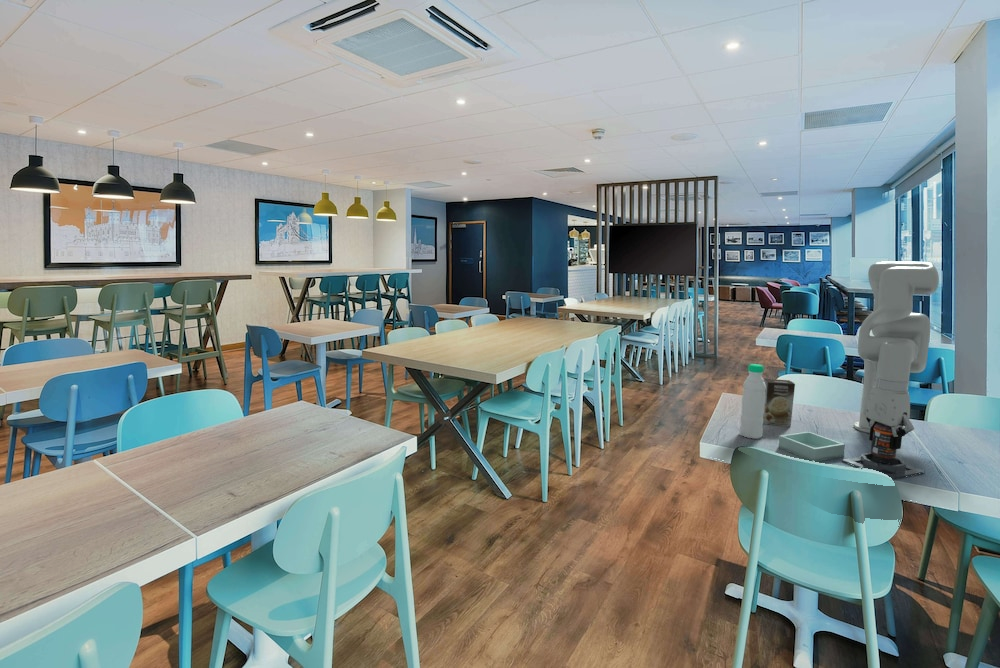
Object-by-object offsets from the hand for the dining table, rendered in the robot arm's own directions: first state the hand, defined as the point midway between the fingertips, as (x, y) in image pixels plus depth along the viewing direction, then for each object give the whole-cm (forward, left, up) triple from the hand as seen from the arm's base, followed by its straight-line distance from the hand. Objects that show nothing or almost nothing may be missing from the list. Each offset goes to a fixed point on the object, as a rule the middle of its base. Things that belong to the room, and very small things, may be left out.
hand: (884, 443), depth 151 cm
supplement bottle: (0, 0, -4) cm, 4 cm away
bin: (+10, -16, -7) cm, 20 cm away
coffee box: (-4, -42, -7) cm, 42 cm away
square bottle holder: (+1, 0, -7) cm, 7 cm away
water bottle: (+16, -34, -7) cm, 38 cm away
